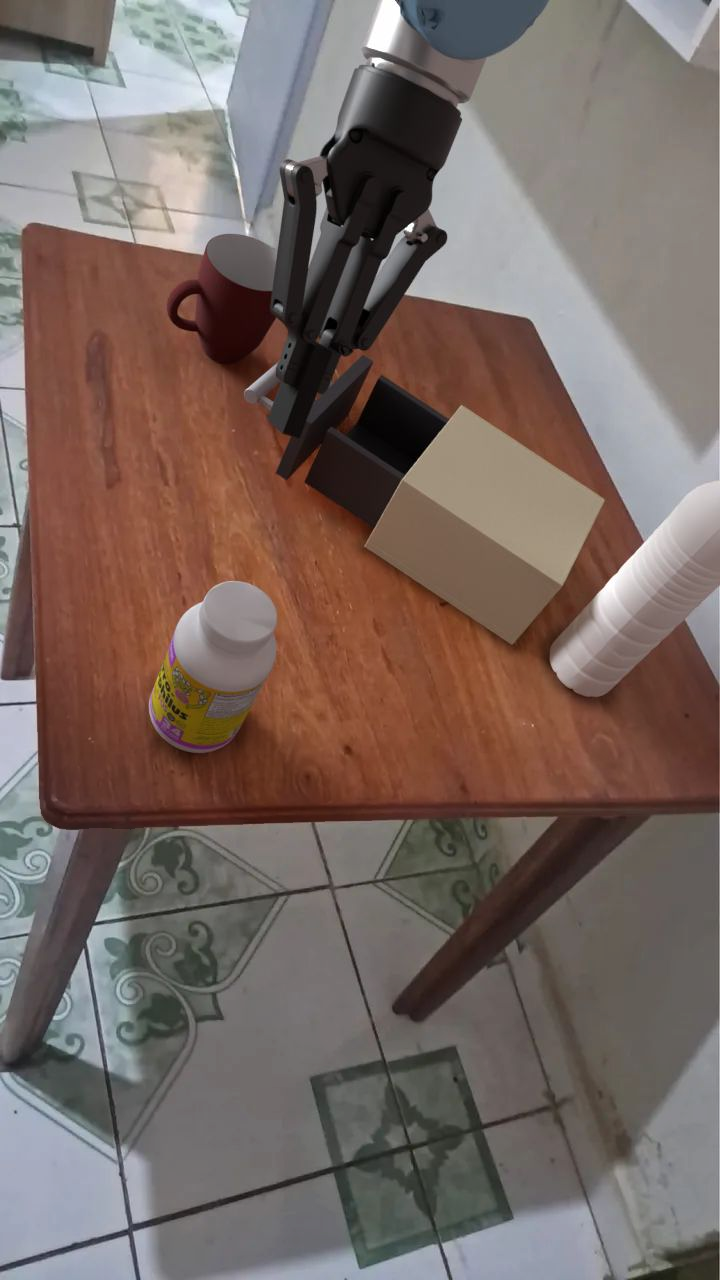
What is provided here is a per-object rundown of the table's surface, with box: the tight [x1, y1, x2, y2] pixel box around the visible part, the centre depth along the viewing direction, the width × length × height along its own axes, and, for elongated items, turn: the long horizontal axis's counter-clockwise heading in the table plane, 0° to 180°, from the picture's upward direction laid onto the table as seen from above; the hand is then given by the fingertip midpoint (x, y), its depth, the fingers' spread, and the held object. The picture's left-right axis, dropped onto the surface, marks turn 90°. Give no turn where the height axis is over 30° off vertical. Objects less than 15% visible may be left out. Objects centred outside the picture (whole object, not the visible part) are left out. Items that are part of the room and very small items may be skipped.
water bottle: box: [549, 479, 720, 698], centre depth 75 cm, size 9×6×25 cm
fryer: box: [364, 404, 606, 646], centre depth 85 cm, size 16×14×9 cm
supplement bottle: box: [148, 580, 278, 754], centre depth 63 cm, size 7×7×13 cm
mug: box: [166, 233, 278, 365], centre depth 88 cm, size 10×8×10 cm
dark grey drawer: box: [243, 354, 451, 529], centre depth 85 cm, size 20×12×7 cm, turn 63°
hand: (283, 428), depth 70 cm, fingers closed
